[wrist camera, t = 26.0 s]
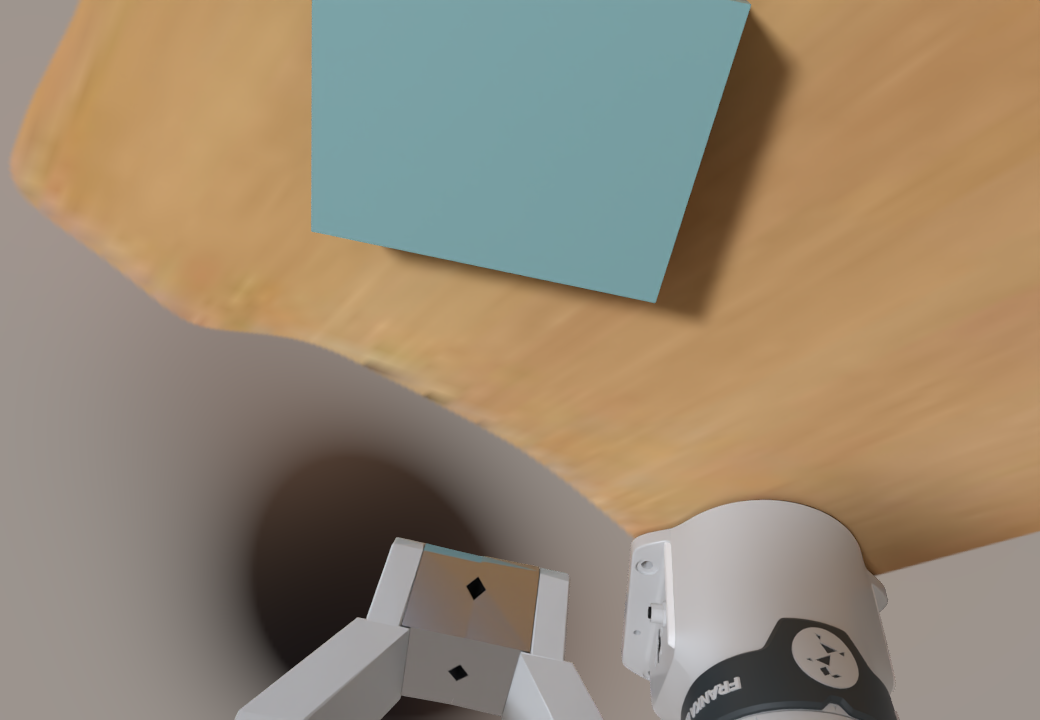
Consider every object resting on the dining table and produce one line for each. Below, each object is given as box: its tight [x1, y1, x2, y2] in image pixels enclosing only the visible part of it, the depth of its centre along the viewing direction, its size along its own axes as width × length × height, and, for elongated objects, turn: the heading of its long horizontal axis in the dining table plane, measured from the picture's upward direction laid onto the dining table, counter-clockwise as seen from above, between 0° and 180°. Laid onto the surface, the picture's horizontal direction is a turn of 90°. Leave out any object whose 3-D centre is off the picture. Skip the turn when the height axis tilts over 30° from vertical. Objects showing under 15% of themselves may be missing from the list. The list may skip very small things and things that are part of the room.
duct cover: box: [311, 0, 751, 303], centre depth 33 cm, size 14×18×1 cm
